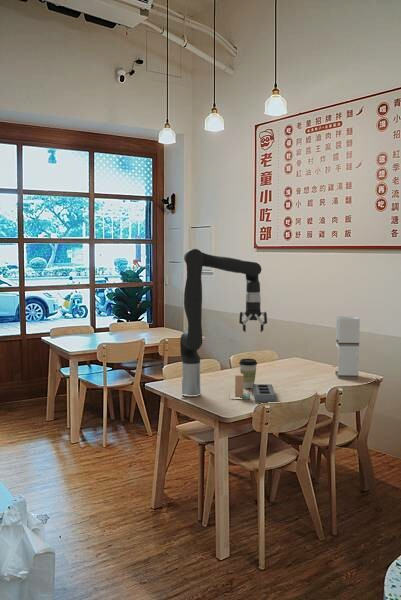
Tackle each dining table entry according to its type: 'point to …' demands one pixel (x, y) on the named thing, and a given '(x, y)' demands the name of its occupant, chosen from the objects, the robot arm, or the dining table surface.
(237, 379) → the terracotta peg
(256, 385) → the grey socket block
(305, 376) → the dining table surface
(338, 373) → the white banded pillar
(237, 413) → the dining table surface
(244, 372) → the coffee cup
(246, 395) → the green mat
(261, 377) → the dining table surface
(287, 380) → the dining table surface
